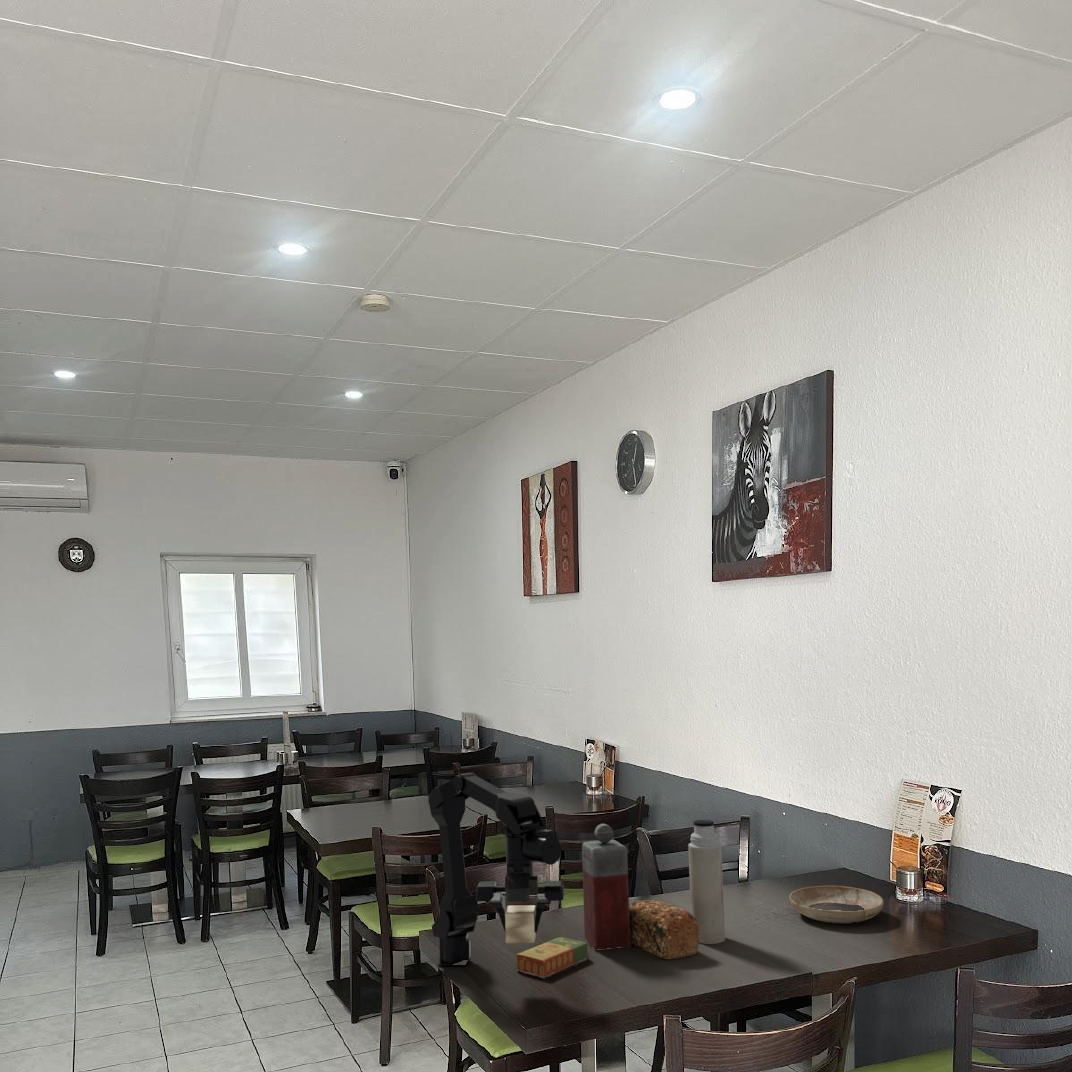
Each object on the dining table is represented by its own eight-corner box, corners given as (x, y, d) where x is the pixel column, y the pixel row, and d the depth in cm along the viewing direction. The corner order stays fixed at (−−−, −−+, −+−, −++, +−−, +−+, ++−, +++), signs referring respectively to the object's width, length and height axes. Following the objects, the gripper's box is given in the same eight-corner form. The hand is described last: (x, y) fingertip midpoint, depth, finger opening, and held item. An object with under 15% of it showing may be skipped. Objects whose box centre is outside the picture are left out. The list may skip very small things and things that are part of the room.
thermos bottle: (725, 934, 233) (720, 817, 236) (725, 944, 225) (720, 824, 228) (692, 933, 235) (688, 817, 237) (691, 943, 227) (686, 823, 230)
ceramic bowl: (781, 904, 257) (780, 885, 258) (868, 903, 256) (867, 884, 257) (801, 931, 234) (800, 910, 235) (897, 930, 233) (896, 909, 234)
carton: (515, 972, 211) (515, 952, 211) (560, 953, 223) (560, 934, 224) (544, 980, 205) (544, 960, 206) (589, 960, 218) (588, 941, 218)
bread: (701, 955, 219) (699, 910, 220) (662, 963, 214) (661, 917, 215) (657, 933, 236) (656, 892, 237) (620, 940, 231) (619, 897, 232)
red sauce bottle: (616, 933, 236) (612, 818, 239) (630, 947, 225) (626, 826, 228) (581, 936, 234) (578, 820, 237) (594, 950, 223) (591, 829, 226)
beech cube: (505, 943, 199) (505, 913, 200) (508, 934, 205) (507, 905, 206) (534, 943, 199) (533, 913, 199) (536, 934, 205) (535, 905, 205)
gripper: (471, 866, 196) (472, 944, 195) (561, 866, 195) (563, 944, 193) (478, 854, 207) (479, 928, 206) (563, 853, 206) (565, 927, 204)
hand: (520, 932), depth 202 cm, fingers closed on beech cube, 6 cm apart
